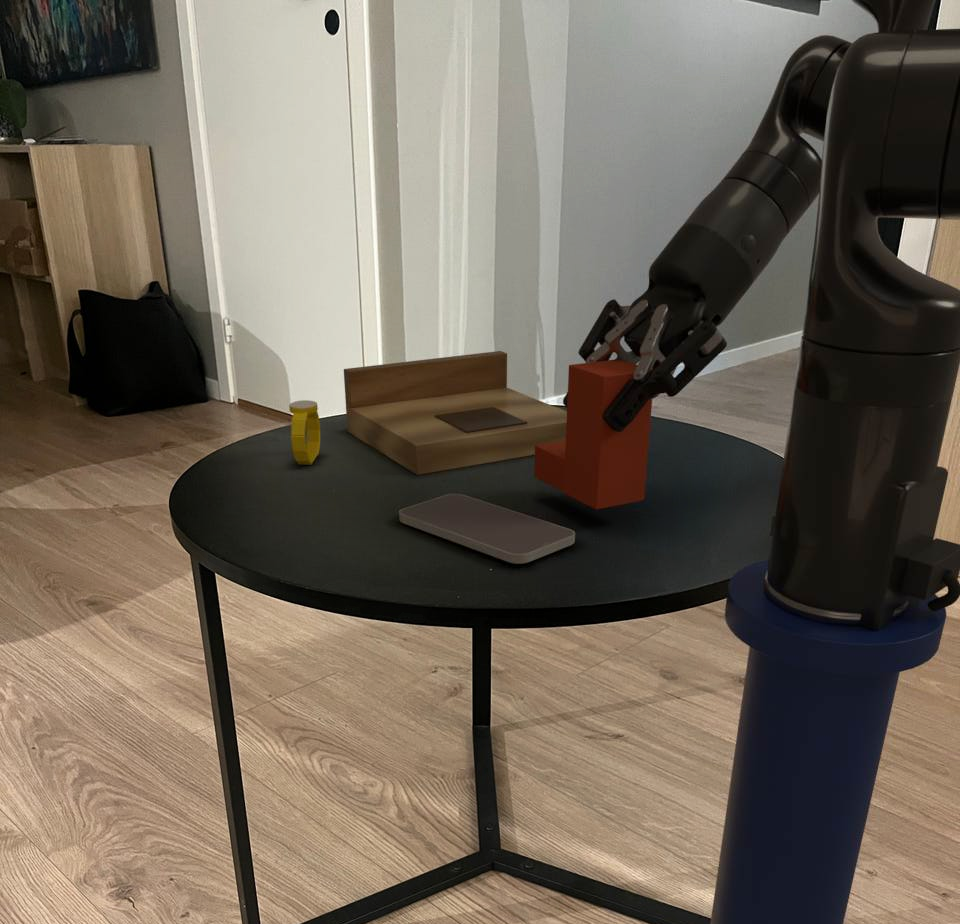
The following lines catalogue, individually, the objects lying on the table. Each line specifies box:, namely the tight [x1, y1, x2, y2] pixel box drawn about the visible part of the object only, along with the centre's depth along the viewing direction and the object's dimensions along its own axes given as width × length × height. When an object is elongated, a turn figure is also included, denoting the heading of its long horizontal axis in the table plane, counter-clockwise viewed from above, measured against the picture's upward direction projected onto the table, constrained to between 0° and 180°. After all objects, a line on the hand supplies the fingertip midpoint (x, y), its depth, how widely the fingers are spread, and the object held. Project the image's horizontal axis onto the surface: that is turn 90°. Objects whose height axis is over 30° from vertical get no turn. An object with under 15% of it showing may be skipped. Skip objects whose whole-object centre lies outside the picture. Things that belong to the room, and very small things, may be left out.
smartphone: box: [398, 493, 576, 565], centre depth 83 cm, size 7×1×15 cm
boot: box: [533, 358, 653, 511], centre depth 85 cm, size 10×5×11 cm, turn 29°
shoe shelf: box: [343, 350, 567, 476], centre depth 107 cm, size 18×20×7 cm
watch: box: [288, 399, 321, 466], centre depth 100 cm, size 6×3×6 cm, turn 174°
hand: (590, 416), depth 81 cm, fingers closed on boot, 5 cm apart
